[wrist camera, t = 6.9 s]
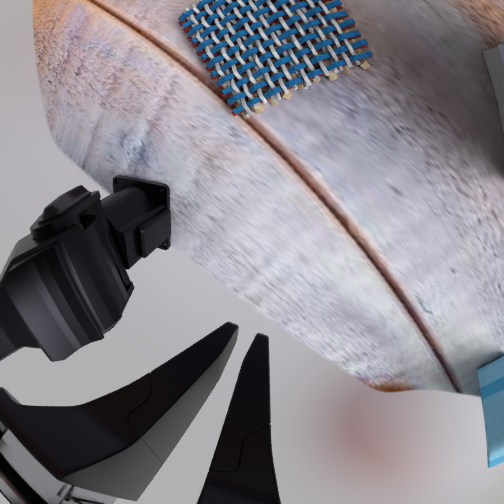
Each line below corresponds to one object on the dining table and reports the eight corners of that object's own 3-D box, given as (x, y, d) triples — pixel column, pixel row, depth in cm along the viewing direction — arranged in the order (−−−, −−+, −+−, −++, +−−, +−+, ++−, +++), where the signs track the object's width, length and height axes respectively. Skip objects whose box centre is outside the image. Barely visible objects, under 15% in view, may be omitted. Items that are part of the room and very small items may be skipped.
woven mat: (181, 21, 15) (167, 16, 13) (300, -42, 10) (296, -54, 8) (241, 123, 18) (231, 126, 17) (376, 67, 13) (381, 63, 12)
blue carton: (475, 365, 22) (488, 453, 12) (505, 349, 19) (526, 435, 10) (481, 401, 24) (487, 469, 15) (506, 389, 22) (516, 457, 12)
